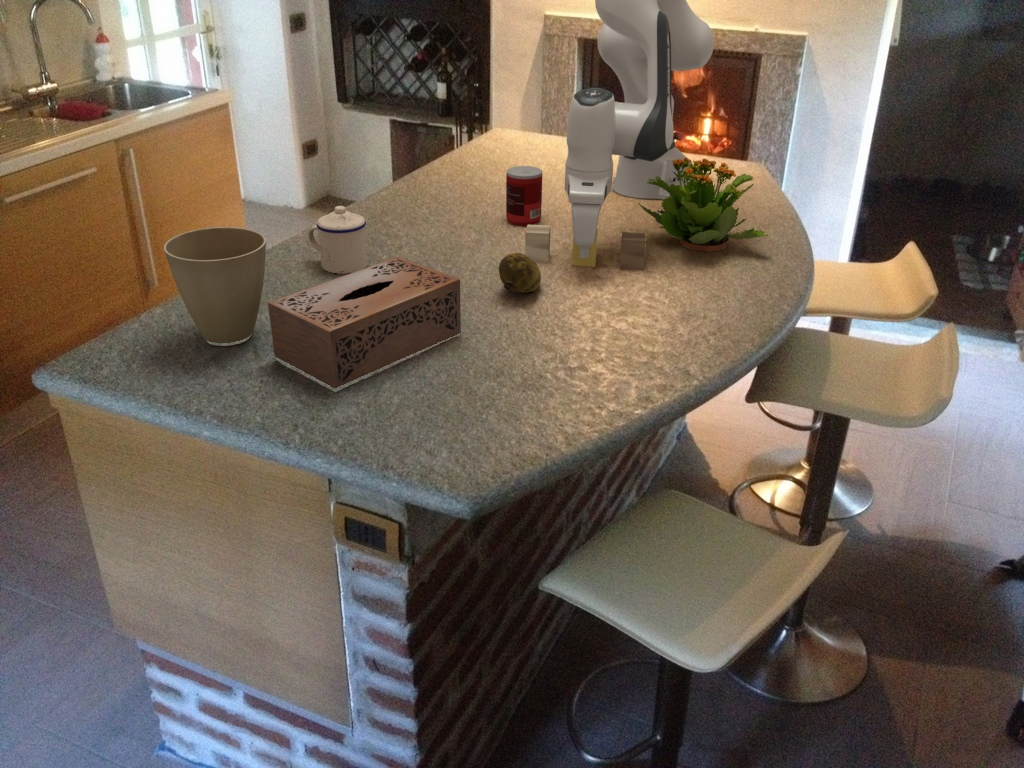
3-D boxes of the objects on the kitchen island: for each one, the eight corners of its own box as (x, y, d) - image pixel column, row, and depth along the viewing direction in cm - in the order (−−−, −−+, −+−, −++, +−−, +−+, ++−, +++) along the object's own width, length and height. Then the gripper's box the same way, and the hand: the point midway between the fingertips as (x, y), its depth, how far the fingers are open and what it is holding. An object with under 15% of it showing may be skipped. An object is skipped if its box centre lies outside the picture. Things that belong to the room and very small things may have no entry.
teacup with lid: (377, 261, 173) (373, 203, 167) (353, 278, 166) (348, 217, 160) (324, 252, 177) (318, 195, 171) (298, 268, 169) (291, 209, 164)
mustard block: (573, 256, 176) (574, 227, 174) (595, 258, 176) (597, 228, 173) (571, 265, 173) (573, 235, 170) (595, 266, 172) (597, 236, 169)
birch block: (527, 253, 178) (527, 224, 175) (549, 254, 178) (550, 225, 175) (524, 261, 174) (525, 232, 171) (547, 263, 174) (548, 233, 171)
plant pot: (226, 366, 135) (211, 267, 127) (161, 342, 142) (142, 247, 134) (297, 331, 146) (286, 238, 138) (232, 310, 153) (219, 220, 145)
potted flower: (787, 246, 183) (802, 161, 175) (726, 277, 168) (739, 186, 160) (684, 217, 198) (693, 138, 190) (620, 244, 183) (626, 159, 174)
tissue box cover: (400, 311, 154) (397, 256, 149) (460, 336, 146) (460, 279, 141) (275, 362, 137) (267, 302, 132) (335, 394, 129) (329, 331, 124)
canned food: (542, 215, 198) (543, 166, 193) (539, 227, 191) (541, 176, 186) (508, 213, 199) (508, 164, 194) (504, 225, 192) (504, 175, 187)
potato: (557, 284, 164) (559, 242, 161) (524, 309, 155) (525, 265, 151) (518, 275, 168) (518, 234, 164) (483, 299, 158) (482, 256, 154)
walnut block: (619, 261, 175) (621, 231, 172) (642, 262, 175) (645, 232, 172) (619, 269, 171) (621, 239, 168) (643, 270, 171) (646, 240, 168)
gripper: (574, 165, 176) (571, 232, 183) (568, 196, 158) (565, 269, 165) (606, 166, 175) (602, 233, 182) (604, 198, 157) (599, 271, 164)
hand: (584, 251), depth 173 cm, fingers closed on mustard block, 4 cm apart
